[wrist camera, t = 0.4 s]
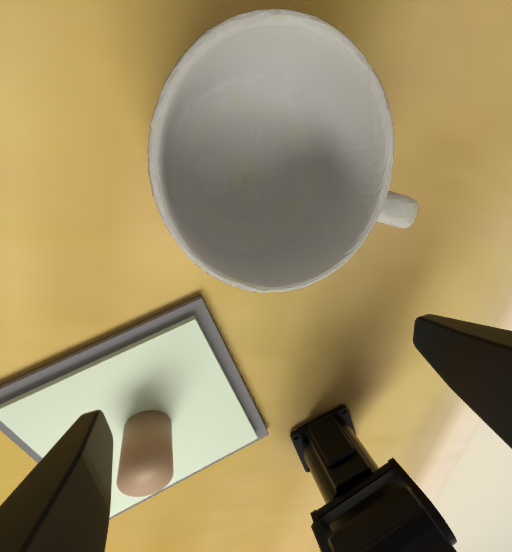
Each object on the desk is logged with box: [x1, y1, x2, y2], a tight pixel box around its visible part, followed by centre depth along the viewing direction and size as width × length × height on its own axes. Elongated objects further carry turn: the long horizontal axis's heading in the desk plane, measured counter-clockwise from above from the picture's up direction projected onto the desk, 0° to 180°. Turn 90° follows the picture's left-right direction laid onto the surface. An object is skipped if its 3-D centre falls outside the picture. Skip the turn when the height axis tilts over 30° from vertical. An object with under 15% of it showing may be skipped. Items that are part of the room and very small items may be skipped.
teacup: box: [148, 8, 419, 293], centre depth 16 cm, size 14×11×8 cm
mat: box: [0, 295, 269, 519], centre depth 24 cm, size 16×16×1 cm
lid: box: [0, 316, 258, 518], centre depth 21 cm, size 14×14×5 cm
